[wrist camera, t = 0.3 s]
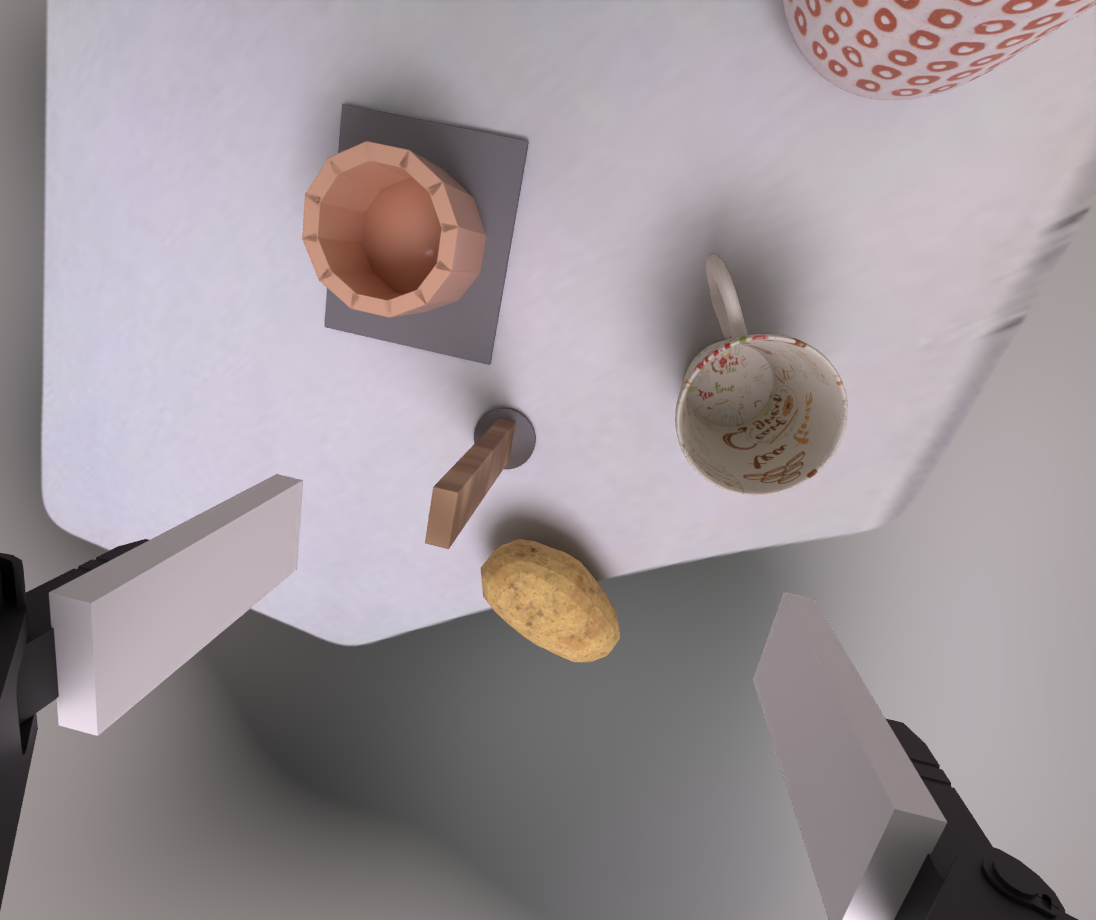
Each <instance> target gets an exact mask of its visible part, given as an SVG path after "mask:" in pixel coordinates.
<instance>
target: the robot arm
mask: <svg viewBox="0 0 1096 920" xmlns="http://www.w3.org/2000/svg"><path fill="white" fill-rule="evenodd" d="M302 487H303V480H300V479H295V478H291V477H287V476H282V475H278V474H276V475H274V476H272V477H270V478H268V479H266V480H264V481H263V482H261V483H259V484H257V485H255V486H253V487H251V488H249V489H247V490H245V491H243V492H241V493H239V494H238V495H236V496H234V497H232V498H230V499H228V500H226V501H224V502H222V503H220V504H218V505H216V506H214V507H213V508H211V509H209V510H207V511H205V512H203V513H201V514H199V515H197V516H195V517H193V518H191V519H189V520H188V521H186V522H184V523H182V524H180V525H178V526H176V527H174V528H172V529H170V530H168V531H166V532H164V533H162V534H161V535H159V536H157V537H155V538H153V539H151V540H148V539H144V540H140V541H137V542H133V543H129V544H125V545H122V546H118V547H116V548H114V549H112V550H110V551H108V552H106V553H104V554H102V555H100V556H98V557H97V558H96V560H90V561H88V562H86V563H84V564H82V565H80V566H79V567H78V569H72V570H70V571H68V572H66V573H64V574H62V575H60V576H58V577H56V578H54V579H52V580H50V581H48V582H46V583H44V584H42V585H40V586H38V587H36V588H34V589H32V590H30V591H28V592H26V593H25V582H24V571H23V564H22V560H20V559H19V558H17V557H15V556H14V555H9V554H3V553H0V909H1V904H2V899H3V895H4V890H5V885H6V880H7V874H8V870H9V865H10V860H11V856H12V851H13V846H14V841H15V836H16V831H17V826H18V822H19V817H20V812H21V807H22V802H23V797H24V793H25V787H26V782H27V778H28V773H29V768H30V763H31V758H32V754H33V749H34V744H35V739H36V734H37V730H38V727H37V716H36V713H37V712H38V711H39V710H41V709H42V708H44V707H45V706H47V705H48V704H49V703H51V702H52V701H54V700H55V699H56V698H57V707H58V720H59V725H60V726H64V727H67V728H71V729H75V730H78V731H82V732H86V733H90V734H93V735H97V736H98V735H99V734H100V733H101V732H103V731H104V730H105V729H106V728H108V727H109V726H110V725H111V724H112V723H114V722H115V721H116V720H117V719H118V718H120V717H121V716H122V715H123V714H124V713H126V712H127V711H128V710H129V709H130V708H132V707H133V706H134V705H135V704H136V703H138V702H139V701H140V700H141V699H142V698H144V697H145V696H146V695H147V694H148V693H149V692H151V691H152V690H153V689H154V688H155V687H157V686H158V685H159V684H160V683H161V682H162V681H164V680H165V679H166V678H167V677H169V676H170V675H171V674H172V673H173V672H175V671H176V670H177V669H178V668H179V667H180V666H182V665H183V664H184V663H185V662H186V661H188V660H189V659H190V658H191V657H193V656H194V655H195V654H196V653H197V652H198V651H200V650H201V649H202V648H203V647H204V646H206V645H207V644H208V643H209V642H210V641H212V640H213V639H214V638H215V637H216V636H218V635H219V634H220V633H221V632H222V631H223V630H225V629H226V628H227V627H228V626H230V625H231V624H232V623H233V622H234V621H235V620H237V619H238V618H239V617H240V616H242V615H243V614H244V613H245V612H246V611H247V610H249V609H250V608H251V607H252V606H253V605H255V604H256V603H257V602H258V601H259V600H261V599H262V598H263V597H264V596H265V595H267V594H268V593H269V592H270V591H271V590H273V589H274V588H275V587H276V586H277V585H279V584H280V583H281V582H282V581H283V580H285V579H286V578H287V577H288V576H289V575H291V574H292V573H293V572H294V571H295V570H296V569H297V561H298V546H299V531H300V517H301V502H302ZM753 682H754V685H755V689H756V692H757V695H758V698H759V701H760V704H761V708H762V711H763V714H764V717H765V720H766V723H767V726H768V730H769V733H770V736H771V739H772V742H773V746H774V749H775V752H776V755H777V758H778V761H779V765H780V767H781V771H782V774H783V777H784V780H785V783H786V786H787V790H788V793H789V796H790V799H791V802H792V805H793V809H794V812H795V815H796V818H797V821H798V825H799V828H800V831H801V834H802V837H803V840H804V843H805V847H806V850H807V853H808V856H809V859H810V863H811V866H812V869H813V872H814V875H815V878H816V881H817V885H818V888H819V891H820V894H821V897H822V901H823V903H824V907H825V909H826V913H827V916H828V920H1078V919H1076V918H1074V917H1072V916H1070V915H1068V914H1066V913H1065V909H1064V907H1063V906H1062V904H1061V902H1060V901H1059V899H1058V897H1057V896H1056V894H1055V893H1054V891H1053V890H1052V889H1051V888H1050V887H1049V886H1048V885H1047V884H1046V883H1045V882H1044V881H1043V880H1042V879H1041V878H1040V876H1038V875H1037V874H1036V873H1035V872H1033V871H1032V870H1031V869H1030V868H1028V867H1027V866H1026V865H1024V864H1023V863H1022V862H1021V861H1019V860H1017V859H1016V858H1014V857H1012V856H1010V855H1009V854H1007V853H1005V852H1003V851H1001V850H1000V849H997V848H993V847H992V845H991V843H990V842H989V840H988V839H987V837H986V836H985V834H984V833H983V831H982V830H981V828H980V827H979V825H978V824H977V822H976V820H975V819H974V818H973V816H972V814H971V813H970V811H969V810H968V808H967V807H966V805H965V804H964V802H963V801H962V799H961V798H960V796H959V795H958V793H957V792H956V790H955V788H952V787H951V782H950V781H949V779H948V778H947V776H946V775H945V773H944V771H943V770H941V769H939V766H940V765H939V764H938V762H937V761H936V759H935V758H934V756H933V755H932V753H931V752H930V750H929V749H928V747H927V746H926V744H925V743H924V742H923V741H922V740H921V739H920V738H919V737H918V736H917V735H915V734H914V733H913V732H912V731H911V730H910V729H909V728H908V727H907V726H906V725H905V724H904V723H901V722H898V721H894V720H889V719H885V717H884V715H883V714H882V712H881V710H880V709H879V707H878V705H877V704H876V702H875V700H874V699H873V697H872V695H871V694H870V692H869V690H868V689H867V687H866V686H865V684H864V682H863V680H862V679H861V677H860V675H859V674H858V672H857V670H856V669H855V667H854V665H853V664H852V662H851V660H850V659H849V657H848V656H847V654H846V652H845V650H844V648H843V647H842V645H841V643H840V642H839V640H838V639H837V637H836V635H835V633H834V632H833V630H832V628H831V627H830V625H829V624H828V622H827V620H826V619H825V617H824V615H823V613H822V612H821V610H820V608H819V607H818V605H817V603H816V602H815V600H814V599H812V598H808V597H804V596H799V595H795V594H791V593H786V592H784V593H783V596H782V599H781V602H780V605H779V607H778V610H777V613H776V616H775V619H774V622H773V624H772V627H771V630H770V633H769V636H768V639H767V642H766V644H765V647H764V651H763V653H762V656H761V659H760V662H759V664H758V667H757V670H756V673H755V676H754V679H753Z"/></svg>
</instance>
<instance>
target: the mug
mask: <svg viewBox="0 0 1096 920" xmlns="http://www.w3.org/2000/svg"><path fill="white" fill-rule="evenodd" d="M706 274H707V280H708V284H709V289H710V295H711V301H712V305H713V307H714V310H715V313H716V316H717V319H718V322H719V324H720V327H721V330H722V332H723V335H724V337H725V339H726V340H722V341H719V342H716V343H714V344H711V345H710V346H708V347H706V348H705V349H703V350H702V351H701V352H700V353H698V355H697V356H696V357H695V358H694V359H693V360H692V362H691V363H690V365H689V367H688V369H687V371H686V373H685V377H684V380H683V383H682V386H681V390H680V393H679V396H678V400H677V405H676V415H675V422H676V432H677V437H678V440H679V444H680V446H681V449H682V451H683V453H684V455H685V457H686V459H687V460H688V462H689V463H690V464H691V466H692V467H693V468H694V469H695V470H696V471H697V472H698V473H699V474H700V475H701V476H702V477H703V478H705V479H706V480H707V481H709V482H710V483H712V484H714V485H715V486H717V487H719V488H721V489H724V490H727V491H729V492H733V493H737V494H742V495H752V496H762V495H771V494H776V493H780V492H783V491H787V490H789V489H792V488H794V487H796V486H798V485H800V484H802V483H804V482H805V481H807V480H809V479H810V478H811V477H813V476H814V475H815V474H817V473H818V472H819V471H820V470H821V469H822V468H823V467H824V466H825V465H826V464H827V463H828V461H829V460H830V459H831V458H832V456H833V455H834V453H835V452H836V450H837V448H838V446H839V444H840V442H841V440H842V438H843V435H844V431H845V428H846V423H847V415H848V405H847V397H846V392H845V389H844V385H843V383H842V381H841V378H840V376H839V374H838V373H837V371H836V369H835V368H834V366H833V365H832V364H831V362H830V361H829V360H828V359H827V358H826V357H825V356H824V355H823V354H821V353H820V352H819V351H818V350H816V349H815V348H813V347H812V346H810V345H808V344H806V343H805V342H802V341H800V340H797V339H795V338H791V337H788V336H783V335H777V334H753V335H748V333H747V330H746V326H745V322H744V318H743V314H742V310H741V307H740V303H739V300H738V296H737V293H736V290H735V287H734V284H733V281H732V279H731V277H730V274H729V272H728V270H727V268H726V266H725V264H724V262H723V261H722V259H721V258H720V257H719V256H718V255H716V254H711V255H709V256H708V258H707V260H706ZM732 335H733V338H732Z"/></svg>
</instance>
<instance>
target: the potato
mask: <svg viewBox="0 0 1096 920" xmlns="http://www.w3.org/2000/svg"><path fill="white" fill-rule="evenodd" d="M481 576H482V587H483V597H484V598H485V600H486V601H487V602H488V603H489V605H490V606H491V607H492V608H493V609H494V611H495V612H496V613H497V614H498V615H499V616H500V617H501V618H502V619H503V620H505V621H506V622H507V623H508V624H509V625H510V626H511V627H513V628H514V629H515V630H517V631H518V632H519V633H520V634H522V635H523V636H524V637H525V638H527V639H528V640H530V641H531V642H533V643H534V644H536V645H538V646H540V647H542V648H545V649H547V650H549V651H550V652H553V653H554V654H556V655H559V656H561V657H563V658H566V659H568V660H570V661H573V662H592V661H594V660H597V659H600V658H602V657H605V656H607V655H608V654H609V653H610V652H611V651H612V649H613V647H614V646H615V644H616V643H617V641H618V640H619V638H620V631H619V625H618V620H617V614H616V611H615V609H614V607H613V605H612V604H611V602H610V601H609V599H608V597H607V595H606V594H605V592H604V591H603V589H602V588H601V586H600V585H599V584H598V582H597V581H596V580H595V579H594V577H593V576H592V575H591V574H590V572H589V571H588V570H587V569H586V568H585V567H584V565H583V564H582V563H581V562H580V561H579V560H577V559H575V558H574V557H572V556H571V555H569V554H568V553H566V552H563V551H560V550H557V549H554V548H551V547H548V546H546V545H543V544H541V543H538V542H536V541H529V540H522V539H518V540H515V541H512V542H509V543H506V544H503V545H501V546H500V547H498V548H497V549H496V550H495V551H494V552H493V554H492V555H491V556H490V557H489V558H488V560H487V561H486V562H485V563H484V564H483V566H482V567H481Z"/></svg>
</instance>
